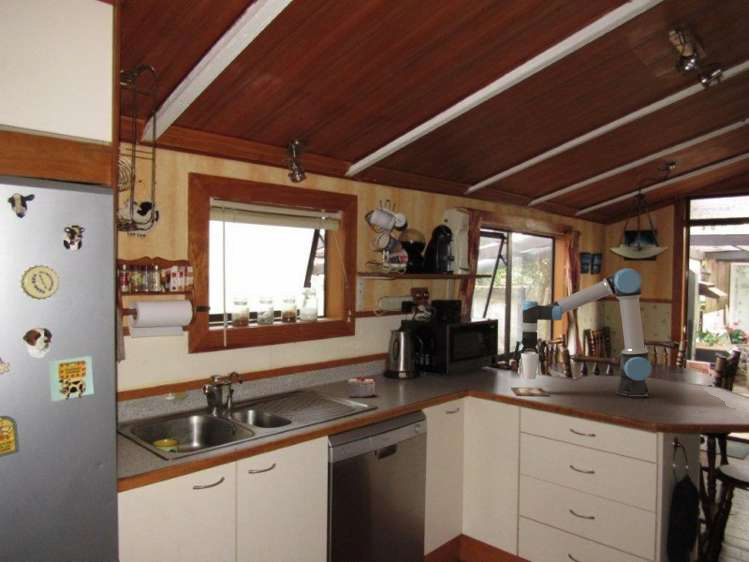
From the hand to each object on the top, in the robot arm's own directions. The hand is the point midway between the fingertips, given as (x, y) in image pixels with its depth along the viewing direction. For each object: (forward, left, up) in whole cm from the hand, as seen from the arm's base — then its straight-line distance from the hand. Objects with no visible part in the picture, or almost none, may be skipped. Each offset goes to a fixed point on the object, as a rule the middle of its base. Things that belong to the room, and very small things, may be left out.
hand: (529, 374), depth 279 cm
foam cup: (0, 0, -2) cm, 2 cm away
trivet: (0, 0, -10) cm, 10 cm away
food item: (+86, +15, -10) cm, 88 cm away
